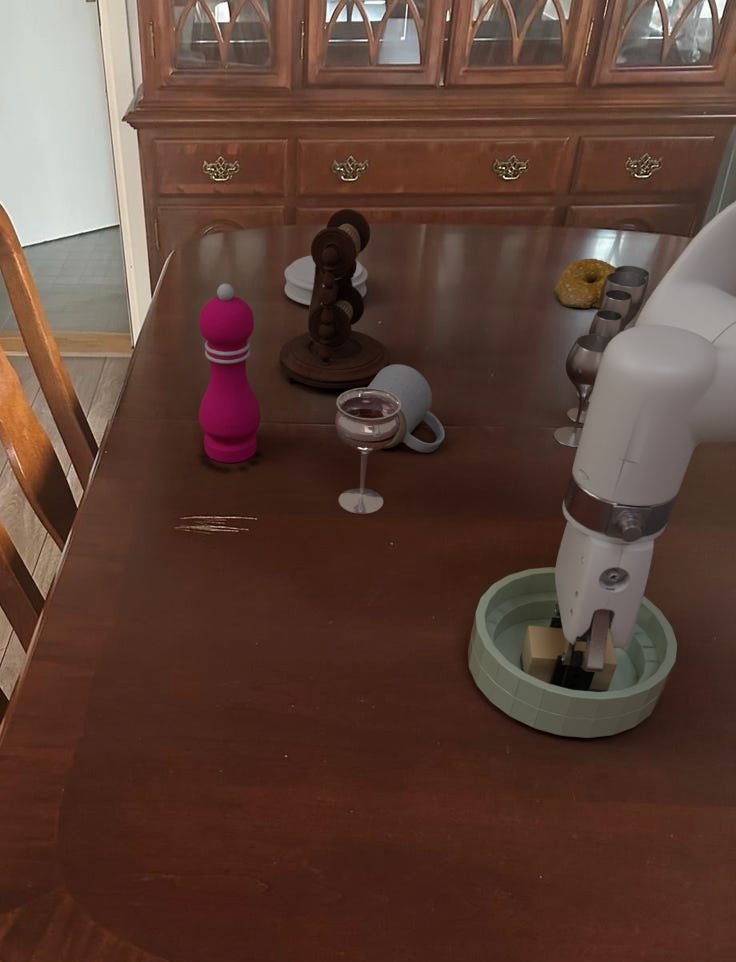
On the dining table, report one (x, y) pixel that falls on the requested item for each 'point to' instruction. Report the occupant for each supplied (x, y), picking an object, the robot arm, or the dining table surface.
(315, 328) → the dark brown wooden stand
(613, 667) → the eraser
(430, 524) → the dining table surface
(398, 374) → the ceramic mug
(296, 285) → the lid
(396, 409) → the wineglass
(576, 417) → the goblet set
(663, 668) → the bowl
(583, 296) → the bagel
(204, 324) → the pepper mill
